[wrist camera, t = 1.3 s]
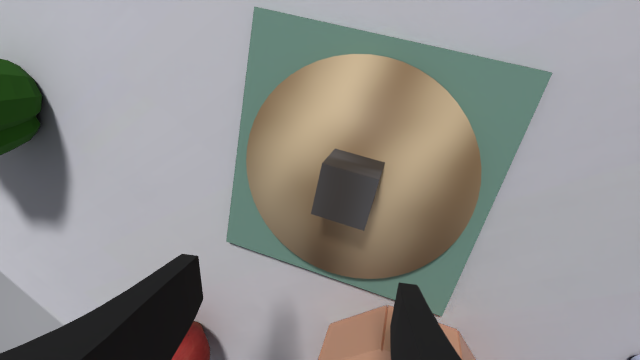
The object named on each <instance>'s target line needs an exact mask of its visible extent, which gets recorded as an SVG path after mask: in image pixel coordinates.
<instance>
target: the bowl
mask: <svg viewBox="0 0 640 360" xmlns="http://www.w3.org/2000/svg"><path fill="white" fill-rule="evenodd" d="M393 309H394V307H392V306H389V305H388V307H387V306H383V307H380V308H377V309H374V310H371V311H368V312H365V313H362V314H359V315H356V316H353V317H350V318H346V319H343V320H340V321H337V322H334V323H331V324H330V325H329V328H328V331H327V334H326V337H325V340H324V343H323V346H322V349H321V352H320V355H319V358H318V360H391V348H390V324H391V319H392V314H393ZM439 325H440V327H441V328H442V330H443V332H444V333H445V335H446V336H447V338H448V340H449V341H450V343H451V344H452V346H453V347H454V349H455V350H456V352H457V353H458V355H459V356H460V358H461V359H462V360H476V359H475V357H474V356H473V354H472V352H471V351H470V349H469V347H468V346H467V344H466V342H465V341H464V339H463V337H462V336H461V334H460V332H459V331H457V329H454V328H451V327H448V326H445V325H443V324H440V323H439Z"/></svg>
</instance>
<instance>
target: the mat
mask: <svg viewBox="0 0 640 360" xmlns="http://www.w3.org/2000/svg"><path fill="white" fill-rule="evenodd" d="M348 54H372V55H378V56H385V57H389V58H392V59H396V60H399V61H402V62H405V63H407V64H409V65H411V66H413V67H416V68H418V69H420V70H421V71H423V72H424V73H426V74H427V75H429V76H430V77H432V78H433V79H435V80H436V81H437V82H438V83H439V84H440V85H441V86H443V87H444V88H445V89H446V90H447V91H448V92H449V93H450V95H451V96H452V97H453V98H454V99H455V100H456V102H457V103H458V104H459V106H460V107H461V109H462V110H463V112H464V114H465V115H466V117H467V118H468V120H469V122H470V125H471V127H472V129H473V131H474V134H475V136H476V140H477V144H478V147H479V151H480V159H481V186H480V192H479V197H478V201H477V204H476V207H475V210H474V212H473V215H472V217H471V219H470V221H469V223H468V224H467V226H466V228H465V229H464V231H463V232H462V234H461V235H460V236H459V238H458V239H457V240H456V241H455V242H454V243H453V244H452V245H451V246H450V247H449V249H448V250H446V251H445V252H444V253H443V254H441V255H440V256H439V257H438V258H436V259H435V260H433V261H431V262H430V263H428V264H426V265H425V266H423V267H421V268H418V269H416V270H414V271H411V272H409V273H405V274H402V275H398V276H394V277H388V278H379V279H361V278H352V277H346V276H341V275H337V274H334V273H330V272H327V271H325V270H323V269H320V268H318V267H315V266H314V265H312V264H310V263H308V262H306V261H304V260H303V259H301V258H300V257H298V256H297V255H296V254H294V253H293V252H292V251H290V250H289V249H288V248H287V247H286V246H285V245H283V244H282V243H281V242H280V240H279V239H278V238H277V237H276V236H275V235H274V234H273V233H272V231H271V230H270V229H269V227H268V226H267V225H266V223H265V222H264V220H263V218H262V217H261V215H260V213H259V211H258V209H257V207H256V205H255V202H254V200H253V197H252V194H251V191H250V187H249V182H248V177H247V166H246V155H247V145H248V140H249V134H250V131H251V128H252V125H253V122H254V120H255V118H256V116H257V114H258V112H259V110H260V108H261V106H262V105H263V103H264V102H265V100H266V99H267V97H268V96H269V95H270V94H271V93H272V91H273V90H274V89H275V88H276V87H277V86H278V85H279V84H280V83H281V82H283V81H284V80H285V79H286V78H287V77H289V76H290V75H291V74H293V73H295V72H296V71H298V70H299V69H301V68H303V67H305V66H307V65H309V64H312V63H314V62H316V61H318V60H322V59H326V58H329V57H333V56H340V55H348ZM551 75H552V73H551V72H547V71H542V70H538V69H533V68H529V67H524V66H520V65H515V64H511V63H506V62H502V61H497V60H493V59H488V58H484V57H479V56H475V55H470V54H466V53H461V52H457V51H452V50H448V49H443V48H439V47H434V46H430V45H425V44H421V43H416V42H412V41H407V40H403V39H398V38H394V37H389V36H385V35H380V34H376V33H371V32H367V31H362V30H357V29H353V28H348V27H344V26H339V25H335V24H330V23H326V22H321V21H317V20H312V19H308V18H303V17H299V16H294V15H290V14H285V13H281V12H276V11H272V10H267V9H263V8H258V7H254V14H253V22H252V30H251V39H250V47H249V56H248V64H247V72H246V81H245V89H244V98H243V106H242V114H241V123H240V131H239V140H238V148H237V156H236V165H235V173H234V182H233V190H232V198H231V207H230V215H229V224H228V232H227V240H226V241H227V242H230V243H232V244H235V245H238V246H241V247H244V248H247V249H250V250H252V251H255V252H258V253H261V254H264V255H267V256H270V257H273V258H275V259H278V260H281V261H284V262H287V263H290V264H293V265H295V266H298V267H301V268H304V269H307V270H310V271H313V272H316V273H318V274H321V275H324V276H327V277H330V278H333V279H336V280H338V281H341V282H344V283H347V284H350V285H353V286H356V287H359V288H361V289H364V290H367V291H370V292H373V293H376V294H379V295H382V296H384V297H387V298H390V299H393V300H395V299H396V294H397V289H398V284H399V282H400V283H407V284H415V285H417V286H418V287H419V288H420V290H421V292H422V294H423V296H424V298H425V300H426V302H427V304H428V306H429V308H430V309H431V311H432V313H433V314H436V315H439V316H442V315H443V313H444V310H445V308H446V306H447V304H448V302H449V299H450V297H451V295H452V293H453V291H454V288H455V286H456V284H457V282H458V280H459V277H460V275H461V273H462V271H463V269H464V266H465V264H466V262H467V260H468V258H469V255H470V253H471V251H472V249H473V247H474V244H475V242H476V240H477V238H478V236H479V233H480V231H481V229H482V227H483V225H484V222H485V220H486V218H487V216H488V214H489V211H490V209H491V207H492V205H493V202H494V200H495V198H496V196H497V194H498V191H499V189H500V187H501V185H502V183H503V180H504V178H505V176H506V174H507V172H508V169H509V167H510V165H511V163H512V161H513V158H514V156H515V154H516V152H517V150H518V147H519V145H520V143H521V141H522V139H523V136H524V134H525V132H526V130H527V128H528V125H529V123H530V121H531V119H532V117H533V114H534V112H535V110H536V108H537V106H538V103H539V101H540V99H541V97H542V95H543V92H544V90H545V88H546V86H547V84H548V81H549V79H550V77H551Z"/></svg>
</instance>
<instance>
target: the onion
mask: <svg viewBox="0 0 640 360" xmlns="http://www.w3.org/2000/svg"><path fill="white" fill-rule="evenodd" d="M209 359H210V347H209V344H208V340H207V338H206V335H205V333H204V331H203V328H202V326H201V325H200V323H198V322H193V323H192V325H191V327H190V329H189V331H188V332H187V334H186V336H185V337H184V339H183V341H182V343H181V344H180V346H179V348H178V349H177V351H176V353H175V354H174V356H173V358H172V359H171V360H209Z"/></svg>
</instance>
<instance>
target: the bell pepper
mask: <svg viewBox="0 0 640 360" xmlns="http://www.w3.org/2000/svg"><path fill="white" fill-rule="evenodd" d="M41 102H42V95H41V93H40V91H39V89H38V87H37V85H36V83H35V81H34V80H33V79H32V78H31V77H30V76H29V75H28V74H27V73H26V72H25V71H24V70H23V69H22V68H21V67H20V66H18V65H16V64H14V63H12V62H10V61H8V60H3V59H0V155H2V154H4V153H6V152H8V151H11V150H13V149H14V148H16V147H18V146H20V145H22V144H24V143H26V142H27V141H29V140H31V138H32V137H33V136H34V135H35V134H36V133H37V131H38V129H39V127H40V125H41V124H40V122H39V121H38V119H37V117H36V115H37V114H38V113H39V112H40V111H41Z"/></svg>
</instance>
